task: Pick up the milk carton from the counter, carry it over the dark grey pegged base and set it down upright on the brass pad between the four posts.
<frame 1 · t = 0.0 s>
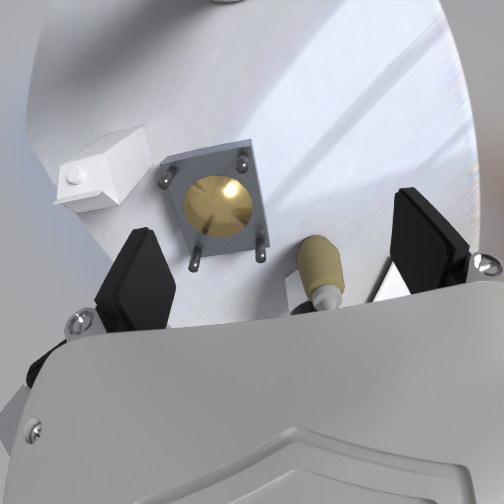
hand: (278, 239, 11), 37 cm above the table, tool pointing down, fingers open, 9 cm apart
grey pegged base: (220, 196, 50), on the table
jar: (304, 281, 61), on the table
plate: (408, 285, 63), on the table
squeeze bottle: (315, 246, 56), on the table
milk carton: (130, 149, 44), on the table
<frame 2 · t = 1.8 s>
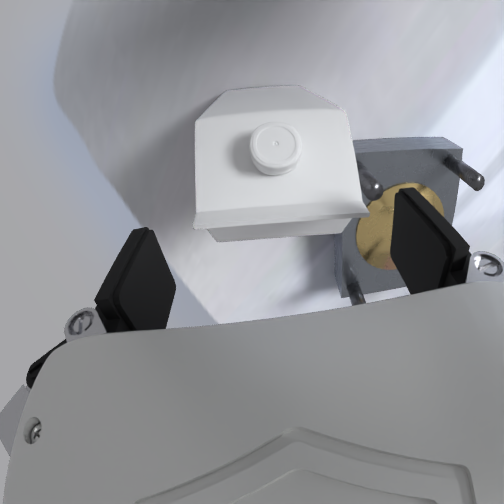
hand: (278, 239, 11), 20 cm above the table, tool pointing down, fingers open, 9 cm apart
grey pegged base: (389, 211, 32), on the table
milk carton: (265, 121, 27), on the table
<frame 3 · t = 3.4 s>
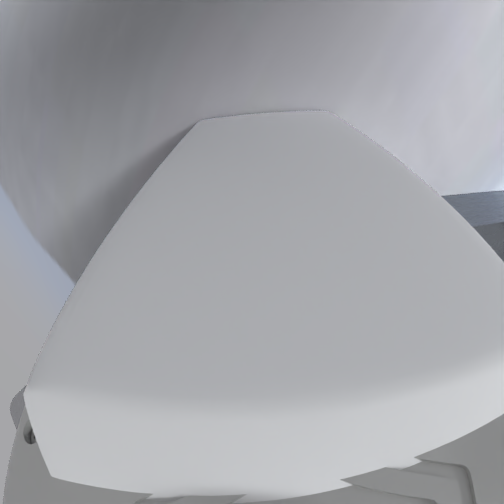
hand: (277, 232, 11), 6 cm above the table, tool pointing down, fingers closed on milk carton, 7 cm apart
grey pegged base: (434, 288, 22), on the table
milk carton: (269, 171, 17), on the table, touching gripper
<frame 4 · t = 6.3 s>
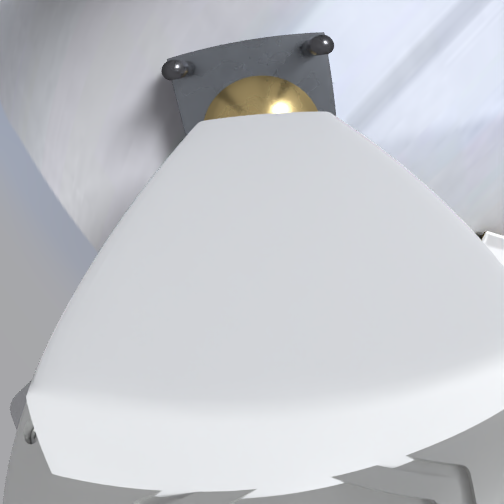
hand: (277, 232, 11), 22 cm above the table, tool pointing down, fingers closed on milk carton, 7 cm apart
grey pegged base: (261, 125, 29), on the table
plate: (485, 274, 42), on the table
milk carton: (269, 172, 17), point 15 cm above the table, touching gripper
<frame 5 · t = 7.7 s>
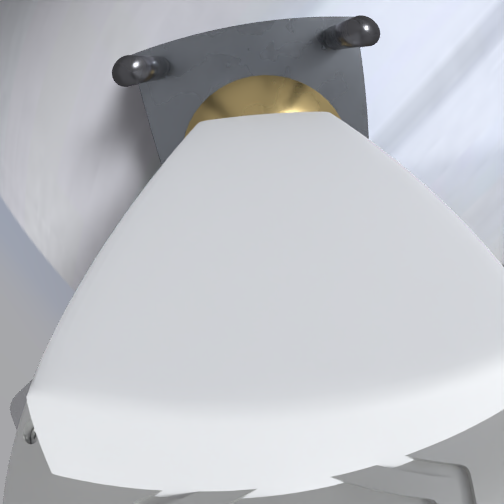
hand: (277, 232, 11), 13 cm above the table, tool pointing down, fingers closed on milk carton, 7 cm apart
grey pegged base: (264, 142, 22), on the table
milk carton: (269, 172, 17), point 6 cm above the table, touching gripper
when the fingers open (11 cm above the table, at t = 9.1 s): milk carton stays where it is, resting on grey pegged base.
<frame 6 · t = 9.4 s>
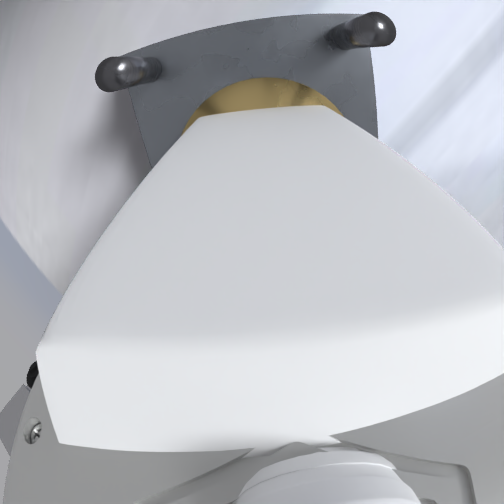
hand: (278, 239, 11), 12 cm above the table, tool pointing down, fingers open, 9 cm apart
grey pegged base: (265, 149, 20), on the table
milk carton: (267, 165, 17), point 4 cm above the table, touching grey pegged base
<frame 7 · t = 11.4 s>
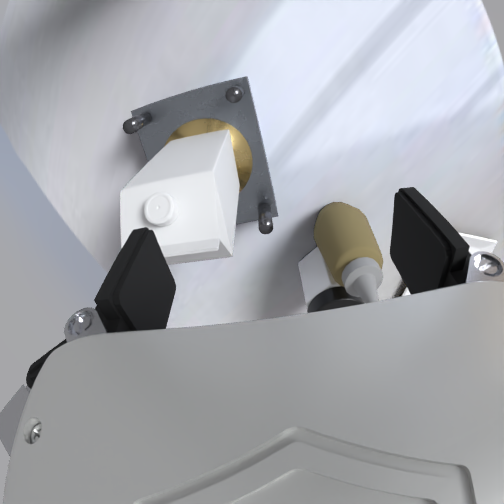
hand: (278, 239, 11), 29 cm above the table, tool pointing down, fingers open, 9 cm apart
grey pegged base: (210, 153, 37), on the table
jar: (323, 265, 48), on the table
plate: (445, 269, 49), on the table
squeeze bottle: (335, 218, 43), on the table
milk carton: (205, 161, 34), point 4 cm above the table, touching grey pegged base
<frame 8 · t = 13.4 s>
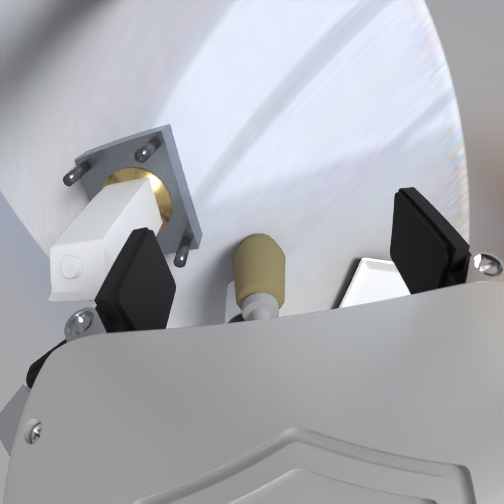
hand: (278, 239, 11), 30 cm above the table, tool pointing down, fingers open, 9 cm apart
grey pegged base: (143, 192, 42), on the table
jar: (252, 287, 53), on the table
plate: (382, 293, 55), on the table
squeeze bottle: (258, 247, 48), on the table
milk carton: (134, 203, 39), point 4 cm above the table, touching grey pegged base
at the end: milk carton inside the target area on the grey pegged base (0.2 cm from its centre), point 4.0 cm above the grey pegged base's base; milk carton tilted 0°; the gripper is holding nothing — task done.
